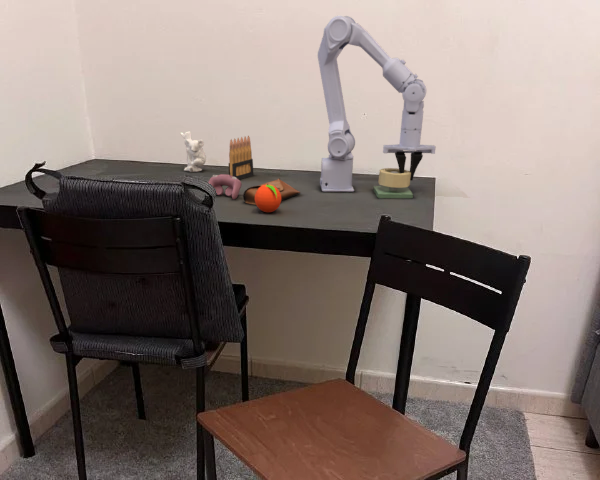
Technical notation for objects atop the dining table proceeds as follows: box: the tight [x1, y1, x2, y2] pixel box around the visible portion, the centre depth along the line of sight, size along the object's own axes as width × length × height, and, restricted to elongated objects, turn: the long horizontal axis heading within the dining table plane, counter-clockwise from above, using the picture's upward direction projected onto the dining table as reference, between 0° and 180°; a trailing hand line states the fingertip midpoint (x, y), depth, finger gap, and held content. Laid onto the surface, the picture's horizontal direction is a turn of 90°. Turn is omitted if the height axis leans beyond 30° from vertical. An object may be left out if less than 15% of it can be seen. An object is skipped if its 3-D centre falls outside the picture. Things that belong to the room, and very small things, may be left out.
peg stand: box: [372, 171, 414, 199], centre depth 178 cm, size 10×10×6 cm
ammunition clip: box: [228, 135, 254, 180], centre depth 193 cm, size 11×2×12 cm, turn 148°
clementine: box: [255, 184, 282, 213], centre depth 159 cm, size 8×7×7 cm
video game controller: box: [207, 173, 242, 200], centre depth 173 cm, size 10×5×7 cm, turn 71°
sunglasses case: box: [242, 177, 301, 206], centre depth 173 cm, size 18×7×7 cm
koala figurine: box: [179, 130, 207, 173], centre depth 201 cm, size 8×7×12 cm
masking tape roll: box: [377, 167, 411, 188], centre depth 178 cm, size 9×9×4 cm
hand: (406, 179), depth 178 cm, fingers closed on masking tape roll, 2 cm apart
